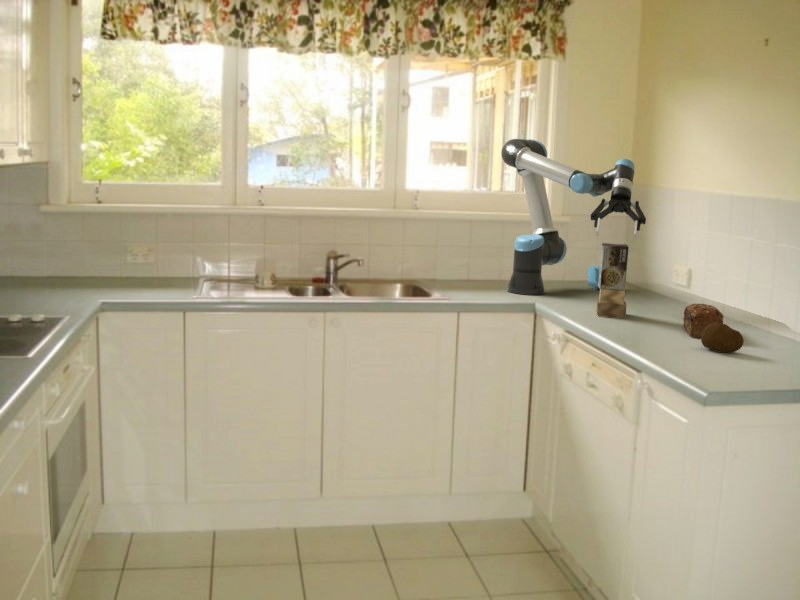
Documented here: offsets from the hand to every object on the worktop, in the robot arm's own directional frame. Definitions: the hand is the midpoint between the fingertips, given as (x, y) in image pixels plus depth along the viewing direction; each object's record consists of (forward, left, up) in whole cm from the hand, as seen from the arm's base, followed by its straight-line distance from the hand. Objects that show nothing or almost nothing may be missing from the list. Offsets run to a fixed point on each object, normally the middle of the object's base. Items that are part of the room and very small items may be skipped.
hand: (615, 234), depth 330 cm
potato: (+30, -60, -29) cm, 73 cm away
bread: (+29, -32, -29) cm, 52 cm away
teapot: (-1, +53, -29) cm, 60 cm away
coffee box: (0, -10, -19) cm, 22 cm away
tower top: (0, -10, -24) cm, 26 cm away
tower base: (0, -10, -29) cm, 30 cm away
